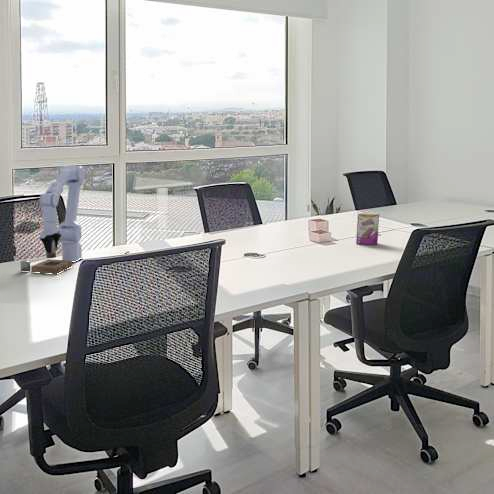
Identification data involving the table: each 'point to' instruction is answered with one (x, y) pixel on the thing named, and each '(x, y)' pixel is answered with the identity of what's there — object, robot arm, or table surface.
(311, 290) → the table surface
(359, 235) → the candy bar box
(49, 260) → the wooden square frame
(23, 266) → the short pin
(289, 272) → the table surface
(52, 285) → the table surface
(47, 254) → the tall pin
